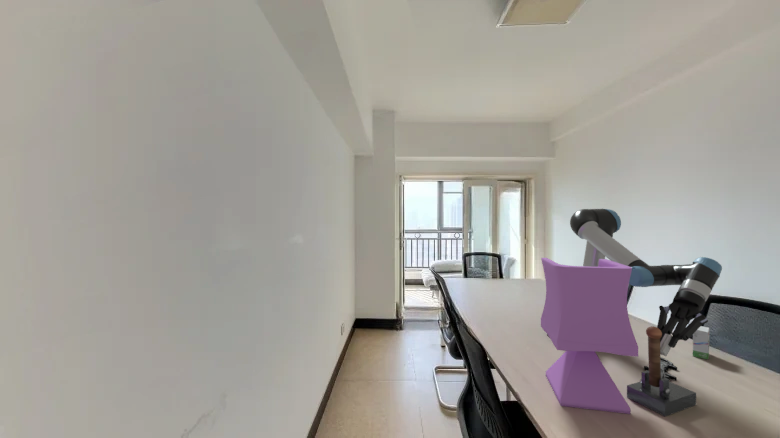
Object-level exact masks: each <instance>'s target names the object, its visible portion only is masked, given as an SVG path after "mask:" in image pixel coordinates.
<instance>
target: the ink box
mask: <svg viewBox="0 0 780 438" xmlns="http://www.w3.org/2000/svg"><path fill="white" fill-rule="evenodd" d="M692 356H693V357H694V358H699V359H703V360H707V359H708V360H709V357H710V327H707V326H703V325H701V326H700V327H699V328H698V329H697V330H696V332H695V333H694V334H693V335H692Z"/></svg>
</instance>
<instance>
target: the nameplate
mask: <svg viewBox="0 0 780 438" xmlns="http://www.w3.org/2000/svg"><path fill="white" fill-rule="evenodd" d="M660 359H661V378H662V379H663V378H667V379H669V382H671V380H672V381H676V382H677V381H678V380H677V379H678V378H677V377H676V376H675V375H672V374H670V373H668V370H669V369H670V370H673V371H678V367H677V366H676V365H674V363H673V362H671V360H668V359H666V358H664V357H661V356H660ZM647 370H648V371H649V366H645V365H643V371H647Z"/></svg>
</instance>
